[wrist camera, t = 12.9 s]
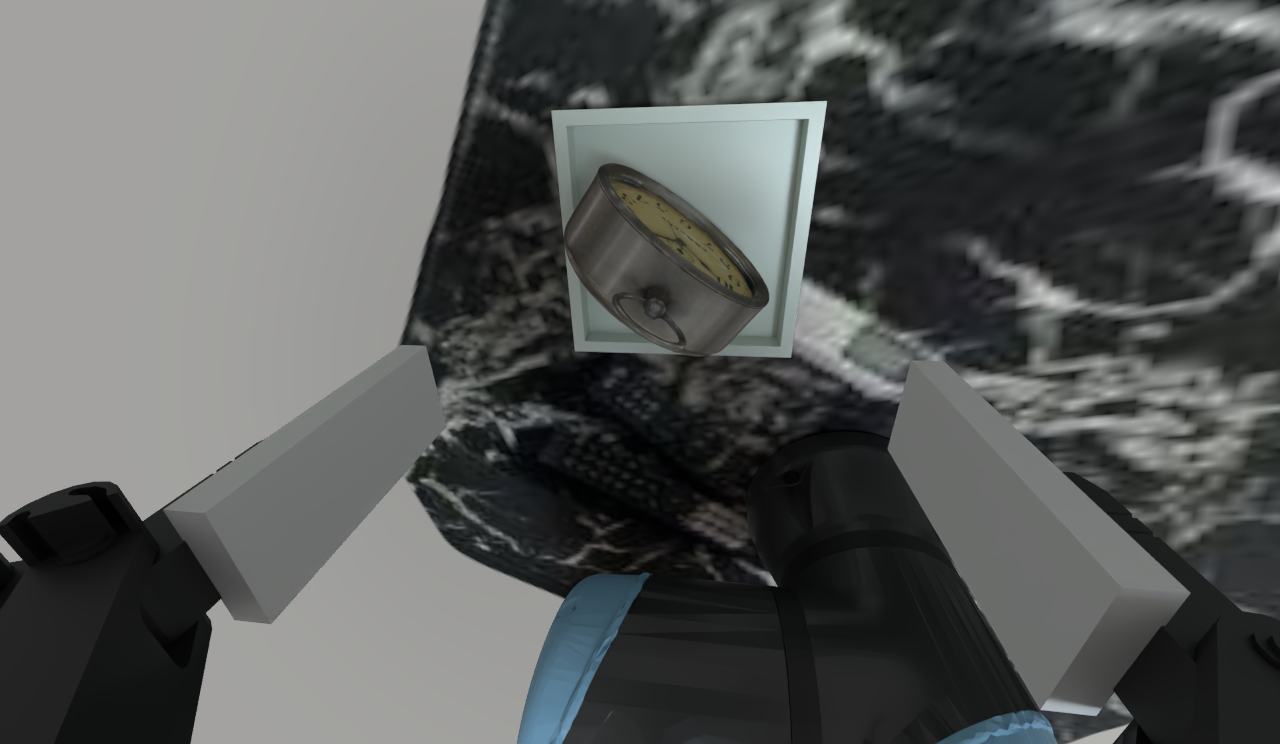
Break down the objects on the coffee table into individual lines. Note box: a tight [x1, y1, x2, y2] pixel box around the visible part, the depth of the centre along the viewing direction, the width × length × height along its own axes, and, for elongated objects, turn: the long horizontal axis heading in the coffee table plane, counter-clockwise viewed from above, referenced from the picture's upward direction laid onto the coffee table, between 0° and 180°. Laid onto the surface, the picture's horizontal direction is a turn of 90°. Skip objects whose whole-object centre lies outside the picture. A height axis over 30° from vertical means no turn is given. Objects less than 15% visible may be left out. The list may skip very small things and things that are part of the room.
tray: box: [551, 101, 827, 358], centre depth 30 cm, size 15×15×2 cm
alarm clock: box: [564, 163, 769, 356], centre depth 24 cm, size 11×5×16 cm, turn 54°
